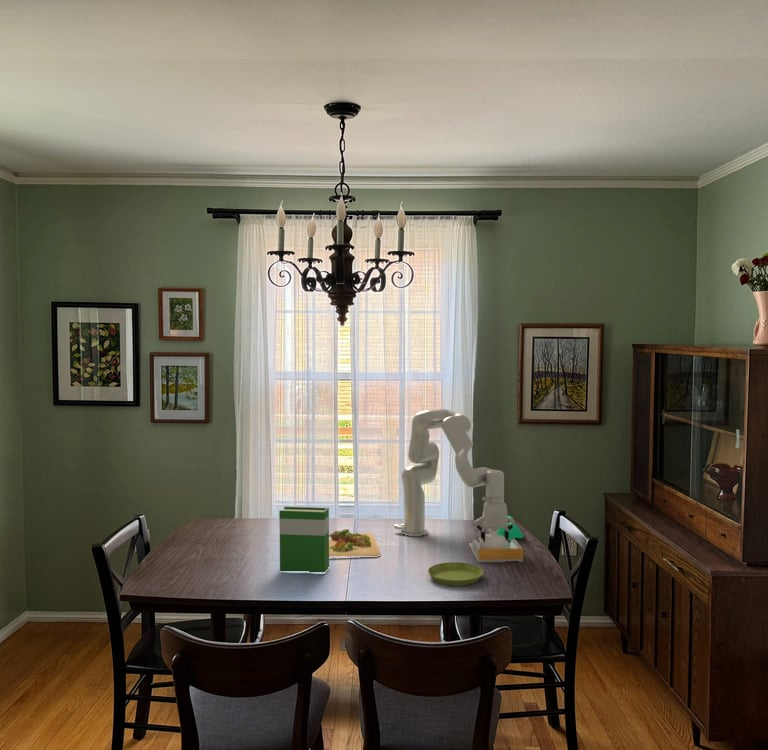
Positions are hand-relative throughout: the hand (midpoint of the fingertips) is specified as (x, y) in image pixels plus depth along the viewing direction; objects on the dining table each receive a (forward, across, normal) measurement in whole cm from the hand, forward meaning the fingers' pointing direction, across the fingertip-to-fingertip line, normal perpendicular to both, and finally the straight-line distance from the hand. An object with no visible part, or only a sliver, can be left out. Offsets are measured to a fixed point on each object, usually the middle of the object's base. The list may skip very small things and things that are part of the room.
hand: (494, 540), depth 290 cm
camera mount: (+6, +11, +23) cm, 26 cm away
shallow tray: (+5, 0, 0) cm, 5 cm away
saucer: (+6, -21, -31) cm, 38 cm away
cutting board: (+6, -61, +13) cm, 62 cm away
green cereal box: (+6, -78, -19) cm, 80 cm away
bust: (+4, -1, 0) cm, 4 cm away
